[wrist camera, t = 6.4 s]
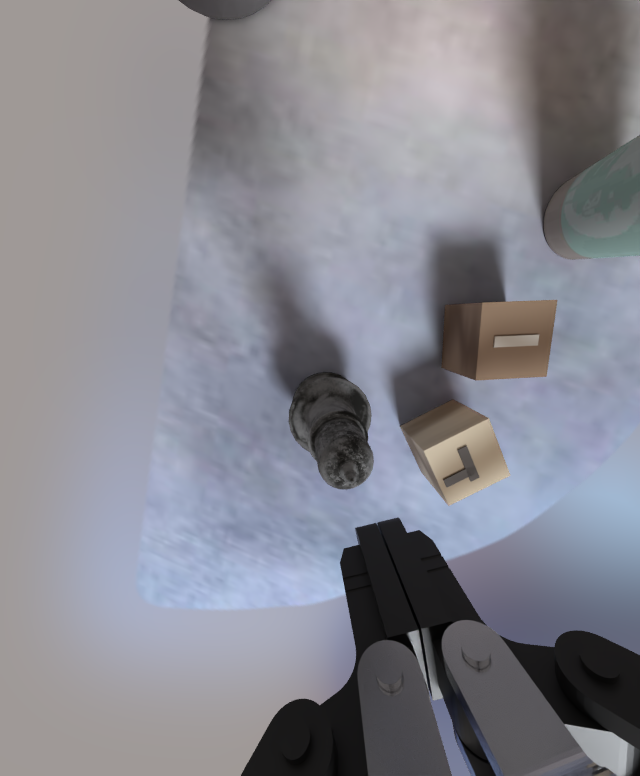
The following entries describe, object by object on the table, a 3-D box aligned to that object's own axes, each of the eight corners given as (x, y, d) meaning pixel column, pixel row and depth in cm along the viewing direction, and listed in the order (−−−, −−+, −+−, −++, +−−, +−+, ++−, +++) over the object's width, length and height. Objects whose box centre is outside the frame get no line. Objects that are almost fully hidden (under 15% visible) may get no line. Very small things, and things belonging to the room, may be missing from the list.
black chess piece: (277, 420, 25) (263, 511, 13) (309, 355, 24) (323, 395, 12) (340, 448, 26) (377, 555, 15) (373, 387, 25) (442, 451, 14)
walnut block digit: (444, 304, 24) (483, 302, 19) (505, 302, 24) (558, 299, 20) (440, 367, 25) (476, 380, 20) (498, 364, 26) (547, 376, 21)
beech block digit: (399, 425, 26) (424, 451, 21) (452, 399, 26) (489, 418, 21) (421, 471, 27) (449, 506, 22) (471, 446, 27) (511, 476, 22)
